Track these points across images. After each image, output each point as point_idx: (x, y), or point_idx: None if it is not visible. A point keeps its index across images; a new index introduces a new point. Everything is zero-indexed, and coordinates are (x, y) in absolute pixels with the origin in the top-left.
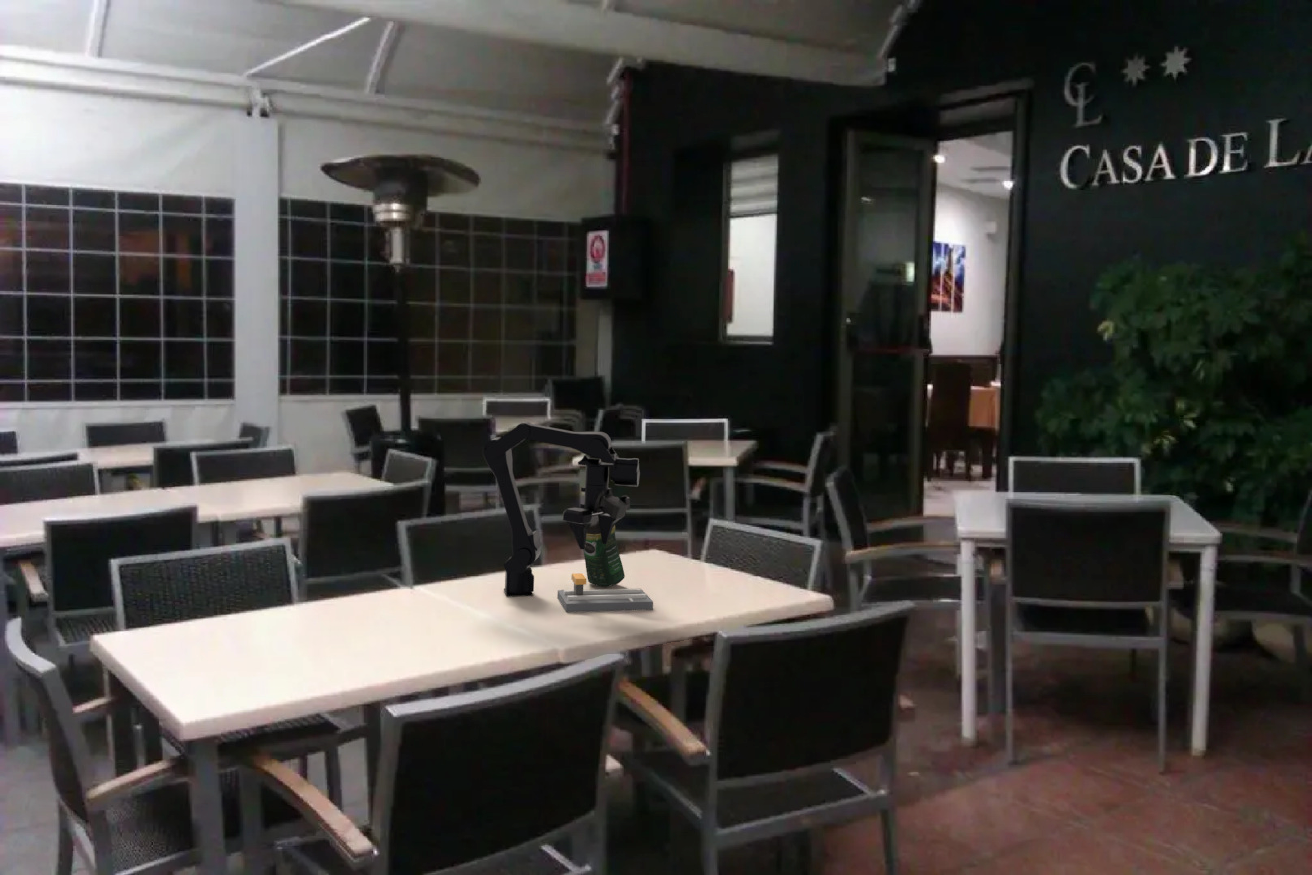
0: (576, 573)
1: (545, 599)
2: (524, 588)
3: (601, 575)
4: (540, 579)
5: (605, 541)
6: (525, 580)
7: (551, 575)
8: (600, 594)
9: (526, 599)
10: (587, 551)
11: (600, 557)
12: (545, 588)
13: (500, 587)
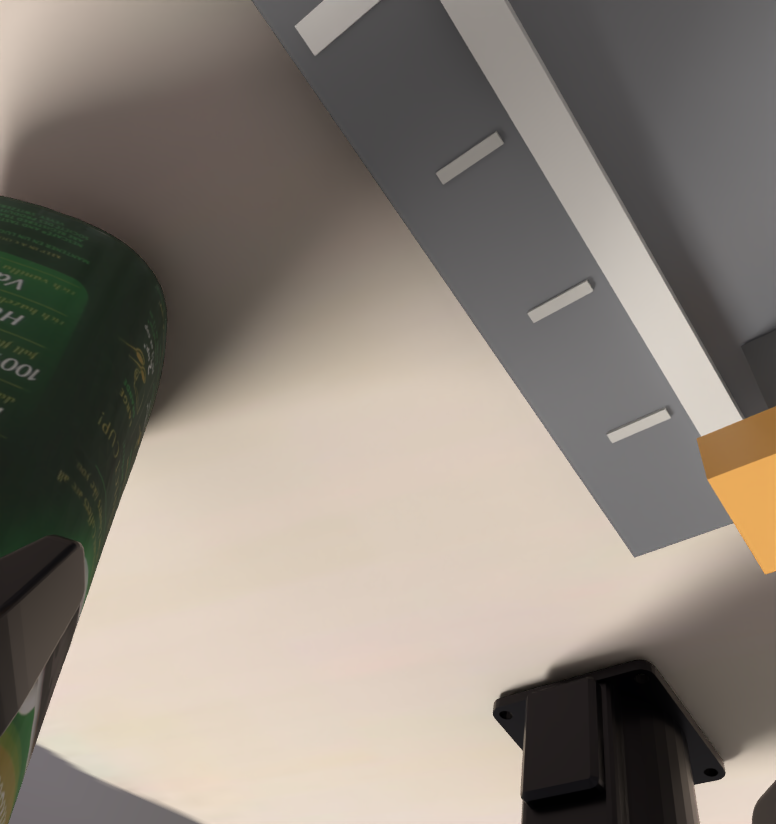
0: (741, 532)
1: (698, 571)
2: (661, 738)
3: (144, 369)
4: (221, 693)
5: (52, 585)
6: (659, 790)
7: (104, 667)
8: (642, 169)
9: (745, 666)
10: (68, 649)
11: (71, 485)
12: (398, 633)
13: (507, 811)
